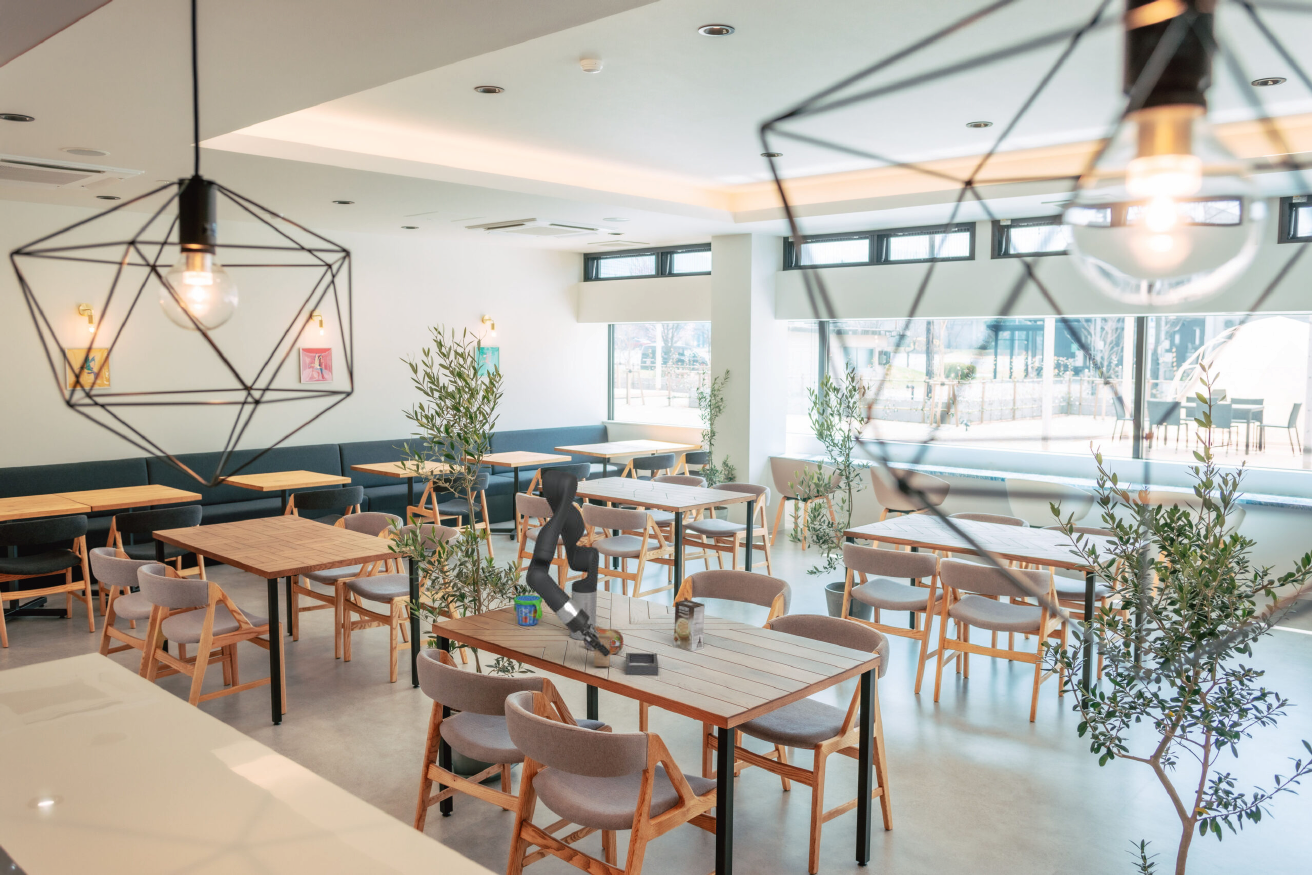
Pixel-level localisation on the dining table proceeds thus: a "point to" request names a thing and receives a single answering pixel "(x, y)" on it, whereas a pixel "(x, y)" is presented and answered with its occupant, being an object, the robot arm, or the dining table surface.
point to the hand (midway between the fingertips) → (608, 652)
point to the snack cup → (528, 609)
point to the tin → (615, 639)
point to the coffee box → (689, 625)
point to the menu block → (598, 656)
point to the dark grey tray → (641, 668)
